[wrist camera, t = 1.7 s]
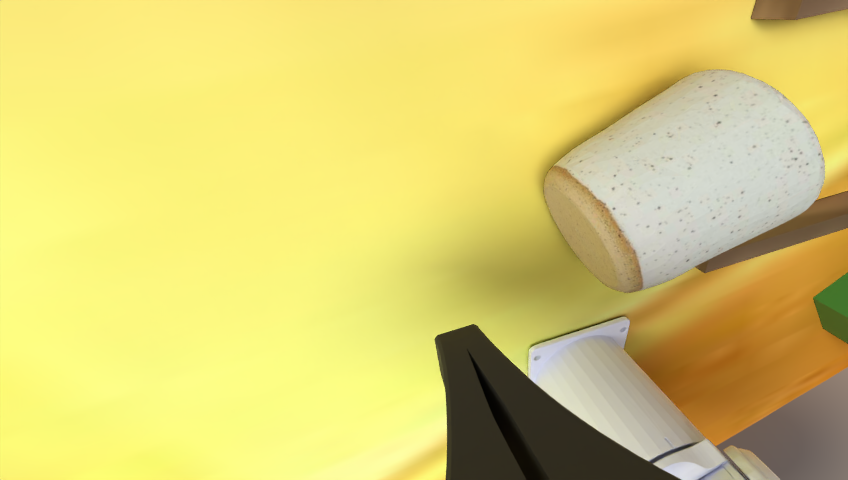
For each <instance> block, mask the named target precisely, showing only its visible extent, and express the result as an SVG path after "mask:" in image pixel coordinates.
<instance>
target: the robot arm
mask: <svg viewBox="0 0 848 480" xmlns="http://www.w3.org/2000/svg"><path fill="white" fill-rule="evenodd" d="M629 325H630V320H629V319H628V318H627V317H620V318H617V319H614V320H611V321H608V322H605V323H602V324H599V325H595V326H592V327H589V328H586V329H583V330H580V331H577V332H574V333H571V334H568V335H565V336H561V337H558V338H555V339H552V340H549V341H546V342H543V343H540V344H537V345H534V346H532V347H531V348H530V349H529V359H528V377H527V376H526V375H525V374H524V373H523V372H522V371H521V370H520V369H518V368H517V367H516V366H515V365H514V364H513V363H512V362H511V361H510V360H509V359H508V358H507V357H506V356H505V355H504V354H503V353H502V352H501V351H500V350H499V349H498V348H497V347H496V346H495V345H494V344H493V343H492V342H491V341H490V340H489V339H488V338H487V337H486V336H485V334H484V333H483V332H482V331H481V330H480V329H479V328H478V326H476V325H474V324H472V325H469V326H466V327H463V328H459V329H456V330H453V331H450V332H447V333H443V334H440V335H437V337H436V338H435V344H436V349H437V355H438V360H439V366H440V371H441V376H442V379H443V382H444V386H445V392H446V407H447V468H446V480H747V479H746V478H745V477H744V476H743V475H742V474H741V473H740V472H739V471H738V469H737V468H736V467H735V466H734V465H733V464H732V463H731V462H730V461H729V460H728V459H727V458H726V457H725V456H724V455H723V454H722V453H721V452H720V451H719V450H718V449H717V448H716V447H715V446H714V445H713V444H712V443H711V442H710V441H709V440H708V439H706V438H705V437H704V436H703V435H702V433H701V432H700V431H699V430H698V429H697V428H696V427H695V426H694V425H693V424H692V423H691V422H690V421H689V419H688V418H687V417H686V416H685V415H684V414H683V413H682V412H681V411H680V410H679V409H678V408H677V407H676V405H675V404H674V403H673V402H672V401H671V400H670V399H669V398H668V397H667V396H666V395H665V394H664V393H663V392H662V390H661V389H660V388H659V387H658V386H657V385H656V384H655V383H654V382H653V381H652V380H651V379H650V378H649V376H648V375H647V374H646V373H645V372H644V371H643V370H642V369H641V368H640V367H639V366H638V365H637V364H636V362H635V361H634V360H633V359H632V358H631V357H630V356H629V355H628V354H627V353H626V352H625V351H624V345H625V341H626V337H627V333H628V329H629ZM723 451H724V452H725V453H726V454H727V455H728V456H729V457H730V458H731V459H732V460H733V461H734V462H735V464H736V465H737V466H738V467H739V470H740V471H741V472H742V473H743V474H744V475H745V476H746V477H747V478H748V479H749V480H780V479H779V478H778V477H777V476H776V475H775V474H774V473H773V472H772V471H771V470H770V469H769V468H768V467H767V466H766V465H765V464H764V463H763V462H762V461H761V460H760V459H759V458H758V457H757V456H755V455H754V454H753V453H752V452H751V451H749V450H745V449H741V448H739V449H737V448H736V447H735V446H729V447H727V448H726V449H724V450H723Z"/></svg>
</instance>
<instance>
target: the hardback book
mask: <svg viewBox="0 0 848 480" xmlns="http://www.w3.org/2000/svg"><path fill="white" fill-rule="evenodd" d="M813 300H814V303H815V306H816V309H817V312H818V315H819V318H820V321H821V324H822V327H823V329H825V330H826V331H828V332H830V333H831V334H833V335H835V336H836V337H838V338H839V339H841V340H843V341H844V342H846V343H847V344H848V273H846V274H845V275H844V276H842V277H841V278H839V279H838V280H837V281H835V282H834V283H833V284H831V285H830V286H828V287H827V288H826V289H824V290H823V291H822V292H820V293H819V294H818V295H816V296H815V297H813Z"/></svg>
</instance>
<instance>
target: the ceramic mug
mask: <svg viewBox="0 0 848 480" xmlns="http://www.w3.org/2000/svg"><path fill="white" fill-rule="evenodd" d="M824 179H825V165H824V158H823V154H822V151H821V147H820V144H819V141H818V138H817V136H816V134H815V132H814V131H813V129H812V127H811V126H810V124H809V122H808V120H807V119H806V118H805V117H804V115H803V114H802V113H801V112H800V111H799V110H798V109H797V108H796V107H795V106H794V105H793V104H792V103H791V102H790V101H789V100H788V99H787V98H786V97H785V96H784V95H783V94H781V93H780V92H779V91H778V90H776V89H774V88H773V87H771V86H770V85H768V84H766V83H764V82H763V81H760V80H758V79H755V78H753V77H750V76H748V75H745V74H743V73H738V72H735V71H731V70H707V71H701V72H697V73H693V74H691V75H689V76H687V77H685V78H683V79H681V80H679V81H678V82H677V83H675V84H674V85H672V86H671V87H670V88H668V89H667V90H665V91H663V92H662V93H660V94H659V95H657V96H655V97H654V98H652V99H650V100H649V101H647V102H646V103H644V104H642V105H641V106H639V107H638V108H636V109H635V110H633V111H632V112H630V113H629V114H627V115H626V116H624V117H623V118H621V119H620V120H618V121H617V122H615V123H614V124H612V125H611V126H609V127H608V128H606V129H605V130H603V131H601V132H600V133H598V134H597V135H595V136H593V137H592V138H590V139H588V140H586V141H585V142H583V143H582V144H580V145H579V146H577V147H575V148H574V149H572V150H571V151H570V152H569V153H567V154H566V155H565V156H564V157H563V158H561V159H560V160H559V161H558V162H557V163H555V164H554V165H553V167H552V168H551V169H550V170H549V171H548V172H547V175H546V178H545V182H544V195H545V200H546V203H547V205H548V208H549V210H550V213H551V215H552V217H553V219H554V221H555V223H556V225H557V227H558V228H559V230H560V232H561V233H562V235H563V237H564V238H565V240H566V241H567V243H568V244H569V246H570V247H571V249H572V250H573V252H574V253H575V254H576V255H577V257H578V258H579V259H580V261H581V262H582V263H583V264H584V265H585V266H586V268H587V269H588V270H589V271H590V272H591V273H592V274H593V275H594V276H596V277H597V278H598V279H599V280H600V281H601V282H602V283H603V284H605V285H606V286H608V287H610V288H612V289H614V290H617V291H621V292H624V293H631V292H635V291H640V290H643V289H646V288H650V287H653V286H656V285H659V284H661V283H664V282H666V281H669V280H671V279H674V278H675V277H677V276H679V275H681V274H683V273H685V272H687V271H688V270H690V269H692V268H693V267H695V266H697V265H699V264H701V263H703V262H705V261H707V260H709V259H711V258H713V257H715V256H717V255H719V254H721V253H723V252H725V251H727V250H729V249H731V248H733V247H735V246H738V245H740V244H742V243H744V242H746V241H748V240H750V239H752V238H754V237H756V236H758V235H760V234H762V233H764V232H766V231H769V230H771V229H773V228H775V227H777V226H779V225H781V224H783V223H785V222H787V221H789V220H791V219H793V218H794V217H796V216H798V215H800V214H801V213H803V212H804V211H806V210H807V209H808V208H809V207H810V206H811V205H812V204H813V203H814V202H815V200H816V199H817V198H818V196H819V194H820V192H821V188H822V186H823V183H824Z"/></svg>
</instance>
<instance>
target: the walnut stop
mask: <svg viewBox="0 0 848 480" xmlns="http://www.w3.org/2000/svg"><path fill="white" fill-rule="evenodd" d="M844 9H848V0H757V1H756V4H755V7H754V10H753V14H752V17H751V19H786V20H797V19H801V18H806V17H811V16H815V15H820V14H825V13H830V12H834V11H839V10H844ZM846 228H848V191H847V192H843V193H840V194H837V195H833V196H830V197H827V198H823V199H820V200H816V201H815V202H814V203H813V204H812V205H811V206H810V207H809V208H808V209H807V210H806V211H804V212H803V213H801V214H800V215H798V216H796V217H794V218H793V219H791V220H789V221H787V222H785V223H783V224H781V225H779V226H777V227H775V228H773V229H771V230H769V231H766V232H764V233H762V234H760V235H758V236H756V237H754V238H752V239H750V240H748V241H746V242H744V243H742V244H740V245H738V246H735V247H733V248H731V249H729V250H727V251H725V252H723V253H721V254H719V255H717V256H715V257H713V258H711V259H709V260H707V261H705V262H703V263H701V264H699V265H697V266H695V267H696V268H698V269H699V270H701V271H702V272H704V273H707V272H710V271H713V270H716V269H719V268H723V267H726V266H729V265H732V264H735V263H738V262H742V261H745V260H748V259H751V258H754V257H757V256H761V255H764V254H767V253H770V252H773V251H776V250H780V249H783V248H786V247H789V246H792V245H795V244H798V243H802V242H805V241H808V240H811V239H814V238H817V237H821V236H824V235H827V234H830V233H833V232H836V231H840V230H843V229H846Z"/></svg>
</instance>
